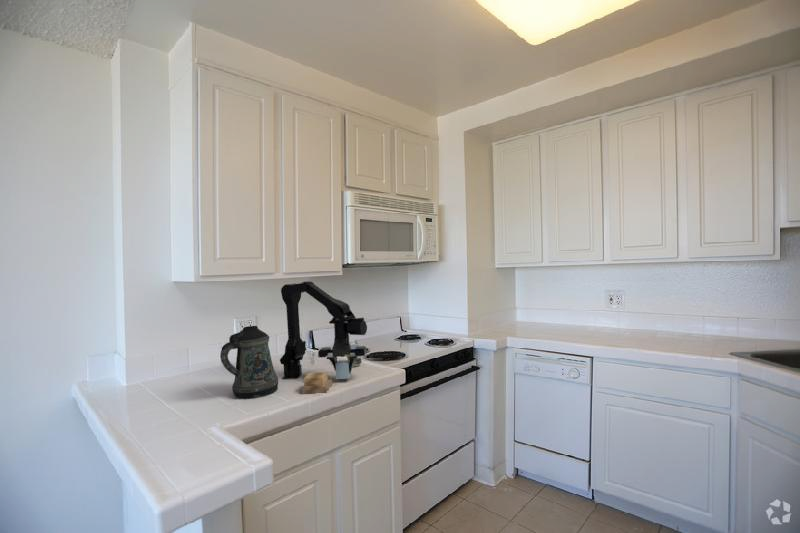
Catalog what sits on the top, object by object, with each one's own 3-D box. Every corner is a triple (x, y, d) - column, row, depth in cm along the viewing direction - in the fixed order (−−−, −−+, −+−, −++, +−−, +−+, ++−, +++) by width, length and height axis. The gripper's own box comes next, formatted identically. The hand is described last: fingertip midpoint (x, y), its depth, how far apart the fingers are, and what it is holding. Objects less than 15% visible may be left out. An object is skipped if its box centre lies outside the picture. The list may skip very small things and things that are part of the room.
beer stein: (287, 385, 150) (284, 322, 150) (256, 403, 132) (252, 332, 131) (251, 384, 155) (248, 323, 155) (216, 401, 136) (212, 331, 136)
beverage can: (360, 367, 172) (359, 341, 172) (344, 368, 172) (343, 341, 172) (362, 363, 178) (361, 338, 178) (346, 364, 178) (345, 339, 178)
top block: (304, 386, 140) (304, 378, 140) (310, 380, 147) (309, 372, 147) (322, 385, 140) (322, 377, 140) (327, 380, 147) (327, 372, 147)
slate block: (336, 378, 151) (335, 363, 151) (339, 375, 156) (338, 360, 156) (348, 378, 151) (347, 363, 150) (351, 374, 156) (350, 360, 155)
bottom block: (302, 395, 139) (301, 387, 139) (309, 387, 148) (309, 379, 148) (326, 394, 139) (325, 386, 139) (332, 386, 148) (331, 379, 148)
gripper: (313, 339, 146) (315, 379, 146) (361, 337, 144) (363, 378, 145) (321, 333, 157) (322, 371, 157) (365, 332, 156) (367, 370, 156)
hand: (343, 372), depth 153 cm, fingers closed on slate block, 5 cm apart
